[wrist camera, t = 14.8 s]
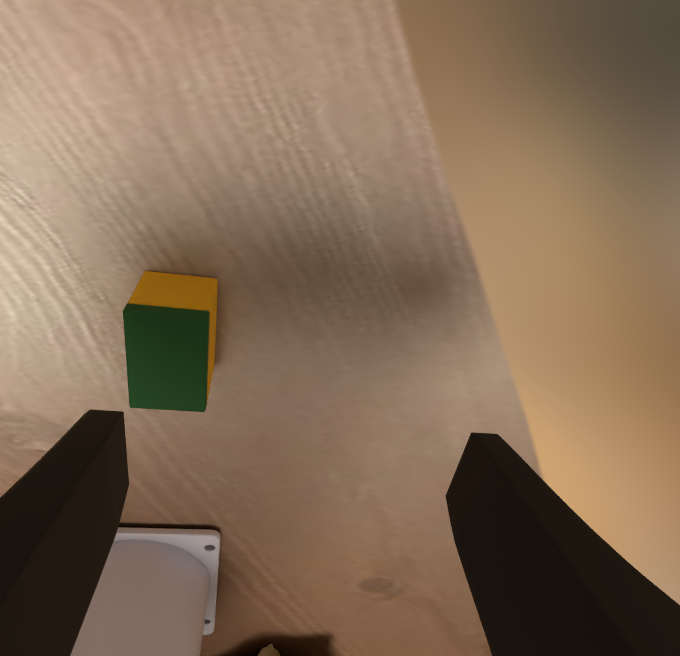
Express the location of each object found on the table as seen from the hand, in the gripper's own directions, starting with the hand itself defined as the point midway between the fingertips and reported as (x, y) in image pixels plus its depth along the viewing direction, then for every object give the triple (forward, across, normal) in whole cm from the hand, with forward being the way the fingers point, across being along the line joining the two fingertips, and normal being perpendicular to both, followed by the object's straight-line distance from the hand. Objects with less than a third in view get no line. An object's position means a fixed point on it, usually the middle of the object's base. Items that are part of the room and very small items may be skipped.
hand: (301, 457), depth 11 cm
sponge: (+9, +4, +3) cm, 11 cm away
